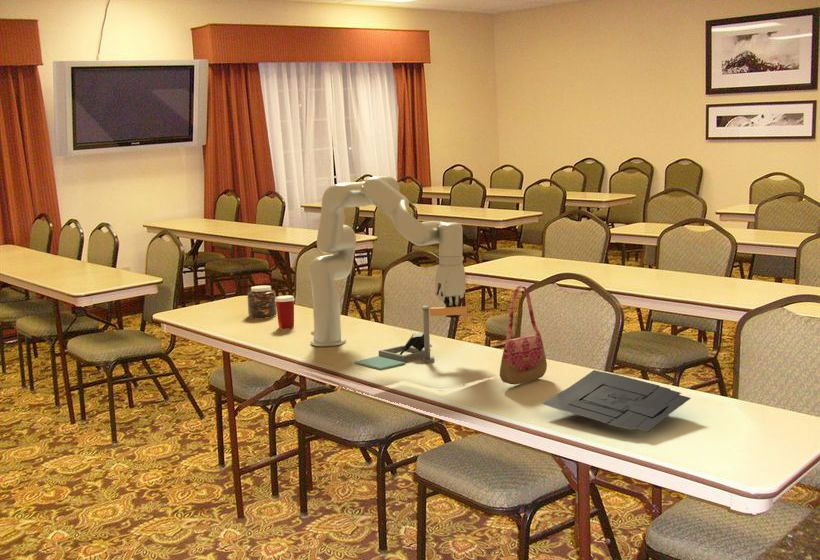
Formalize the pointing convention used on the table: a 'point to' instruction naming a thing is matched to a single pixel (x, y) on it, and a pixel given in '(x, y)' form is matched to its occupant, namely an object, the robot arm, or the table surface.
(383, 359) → the mat
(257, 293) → the jar
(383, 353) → the plug dock
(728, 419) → the table surface
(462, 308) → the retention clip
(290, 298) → the paper cup
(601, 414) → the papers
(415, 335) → the power plug
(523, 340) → the shoulder bag
